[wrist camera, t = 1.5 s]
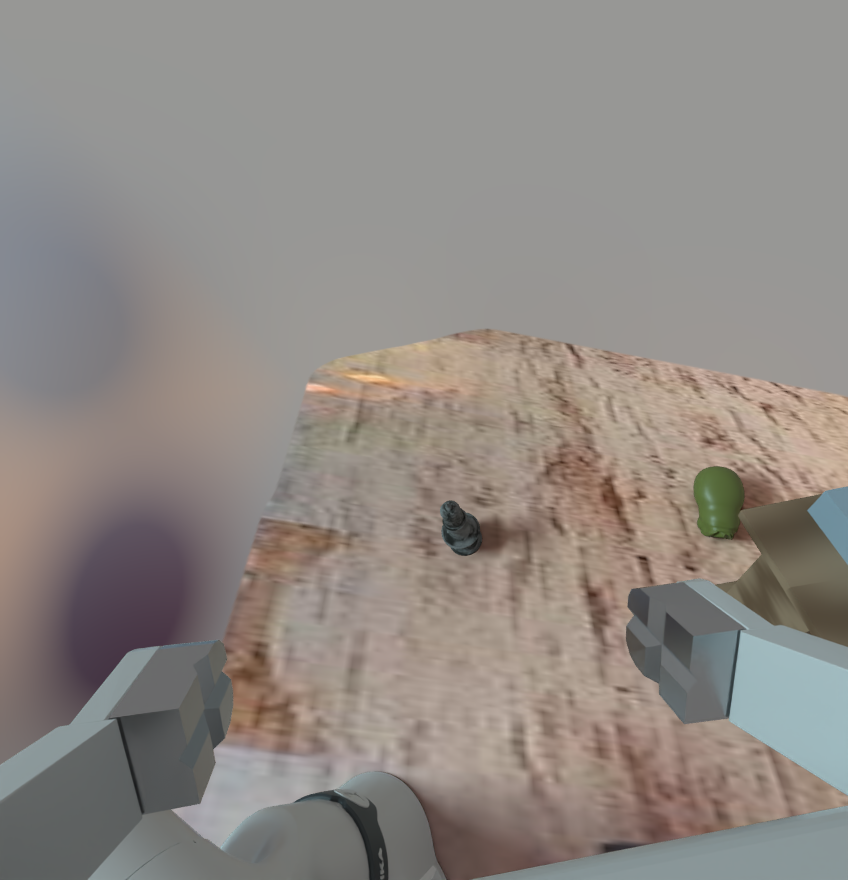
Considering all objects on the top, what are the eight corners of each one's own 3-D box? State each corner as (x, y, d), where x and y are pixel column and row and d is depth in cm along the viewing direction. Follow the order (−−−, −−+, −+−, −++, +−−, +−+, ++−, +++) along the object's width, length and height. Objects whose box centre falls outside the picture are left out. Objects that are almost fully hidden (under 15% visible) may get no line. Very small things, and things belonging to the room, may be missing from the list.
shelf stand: (899, 748, 40) (1215, 743, 20) (742, 764, 43) (886, 774, 23) (788, 575, 51) (924, 460, 31) (667, 596, 53) (720, 501, 33)
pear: (747, 462, 54) (753, 538, 51) (734, 476, 59) (739, 547, 55) (697, 458, 57) (699, 531, 53) (688, 473, 61) (690, 540, 57)
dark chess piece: (487, 524, 66) (472, 487, 57) (479, 560, 63) (462, 527, 54) (451, 519, 68) (432, 483, 59) (443, 554, 65) (420, 521, 56)
